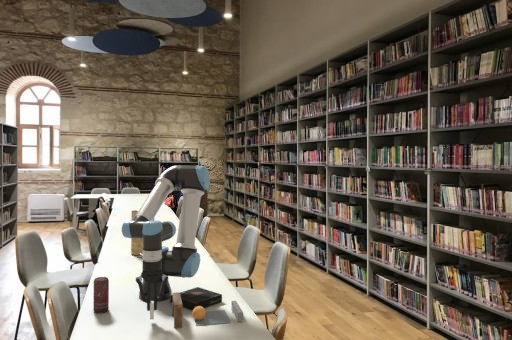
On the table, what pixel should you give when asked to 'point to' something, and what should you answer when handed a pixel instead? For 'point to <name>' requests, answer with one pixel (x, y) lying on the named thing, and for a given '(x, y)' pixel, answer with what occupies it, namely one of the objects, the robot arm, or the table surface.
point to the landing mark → (213, 318)
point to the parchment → (136, 240)
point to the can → (101, 294)
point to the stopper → (237, 311)
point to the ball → (199, 313)
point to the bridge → (177, 309)
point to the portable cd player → (199, 298)
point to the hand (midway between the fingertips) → (151, 318)
